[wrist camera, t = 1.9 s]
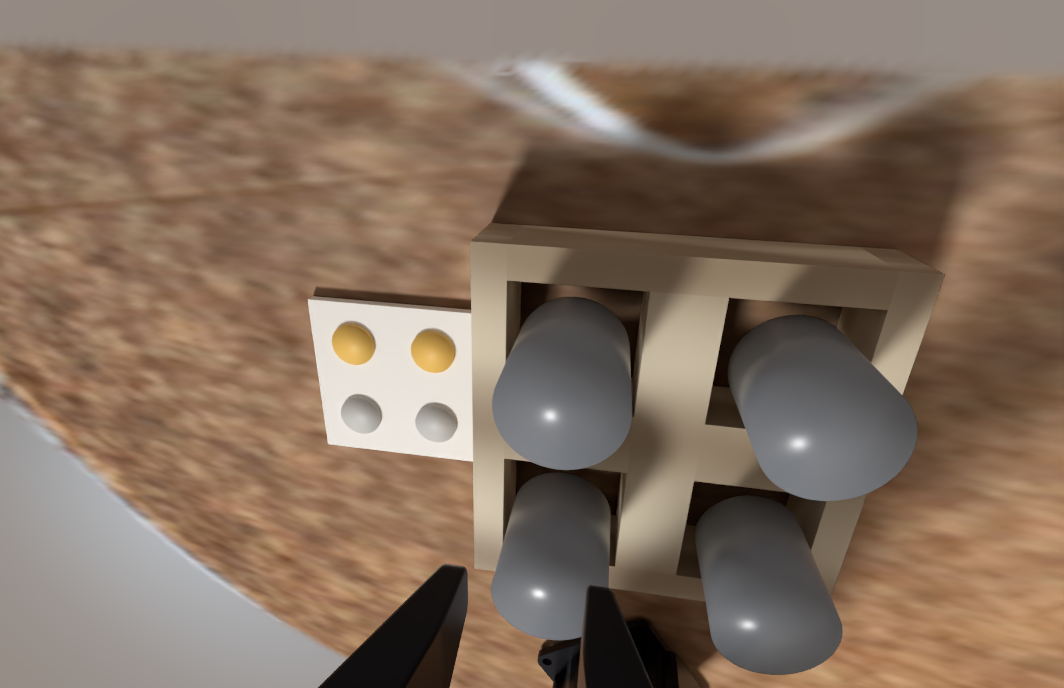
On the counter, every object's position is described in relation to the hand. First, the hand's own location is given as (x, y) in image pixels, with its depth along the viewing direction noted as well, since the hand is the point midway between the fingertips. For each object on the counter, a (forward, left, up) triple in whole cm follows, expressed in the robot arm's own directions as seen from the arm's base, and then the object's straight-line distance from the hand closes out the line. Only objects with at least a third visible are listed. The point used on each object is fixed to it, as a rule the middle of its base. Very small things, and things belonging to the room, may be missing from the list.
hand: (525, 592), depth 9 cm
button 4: (-4, -6, -10) cm, 12 cm away
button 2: (0, 0, -10) cm, 10 cm away
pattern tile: (-8, +2, -13) cm, 15 cm away
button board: (+1, -5, -13) cm, 14 cm away
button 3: (+2, -10, -10) cm, 14 cm away
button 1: (+6, -4, -10) cm, 12 cm away
